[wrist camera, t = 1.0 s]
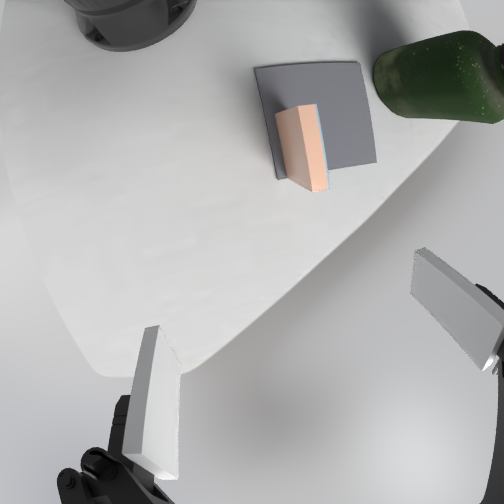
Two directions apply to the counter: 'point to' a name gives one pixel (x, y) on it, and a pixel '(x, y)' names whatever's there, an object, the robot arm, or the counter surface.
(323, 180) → the tile
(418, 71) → the green bottle
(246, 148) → the counter surface
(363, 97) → the mat
